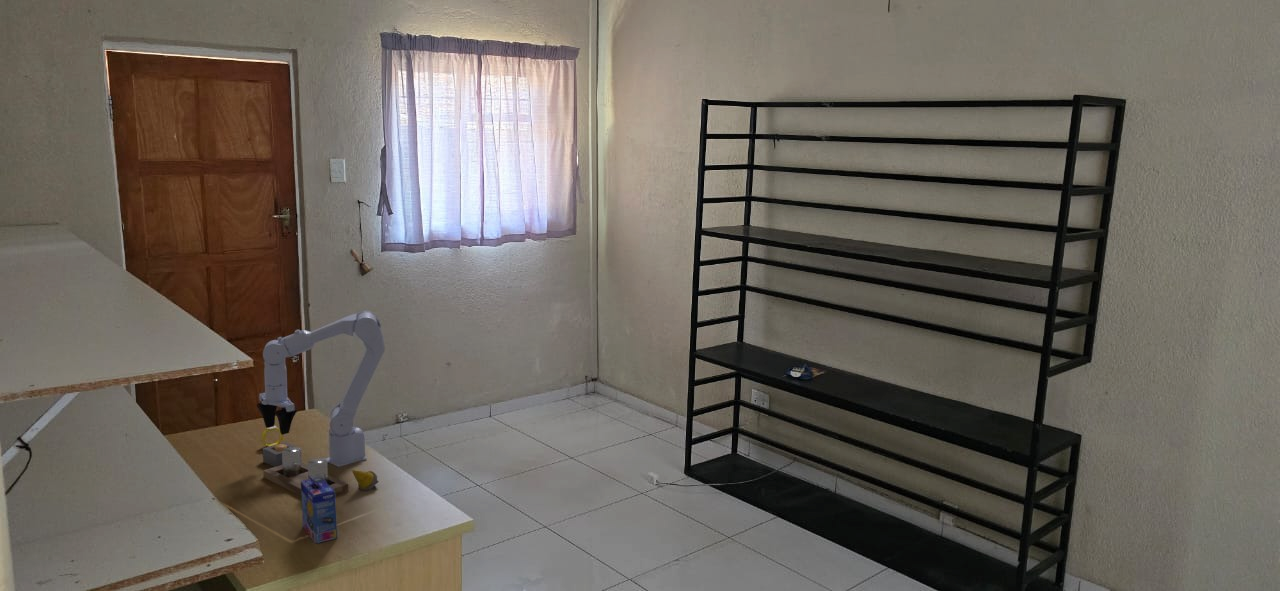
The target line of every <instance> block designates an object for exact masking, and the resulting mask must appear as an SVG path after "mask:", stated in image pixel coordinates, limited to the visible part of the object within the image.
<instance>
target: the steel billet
mask: <svg viewBox="0 0 1280 591" xmlns="http://www.w3.org/2000/svg"><path fill="white" fill-rule="evenodd" d="M282 463H283V475H284V476H286V477H288V478H289V477H292V476H296V475H299V474H302V463H303V462H302V449H301V448H300V447H297V446H295V447H289V448H285V449H283V450H282Z"/></svg>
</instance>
